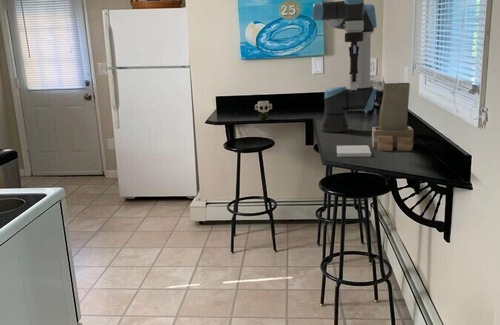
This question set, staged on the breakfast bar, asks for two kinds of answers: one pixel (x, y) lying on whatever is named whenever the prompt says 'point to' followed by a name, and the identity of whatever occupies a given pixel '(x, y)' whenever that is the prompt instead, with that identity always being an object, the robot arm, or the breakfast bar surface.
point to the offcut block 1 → (385, 143)
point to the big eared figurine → (263, 109)
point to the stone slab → (394, 106)
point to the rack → (393, 133)
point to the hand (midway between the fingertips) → (353, 89)
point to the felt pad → (353, 151)
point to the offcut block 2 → (403, 143)
